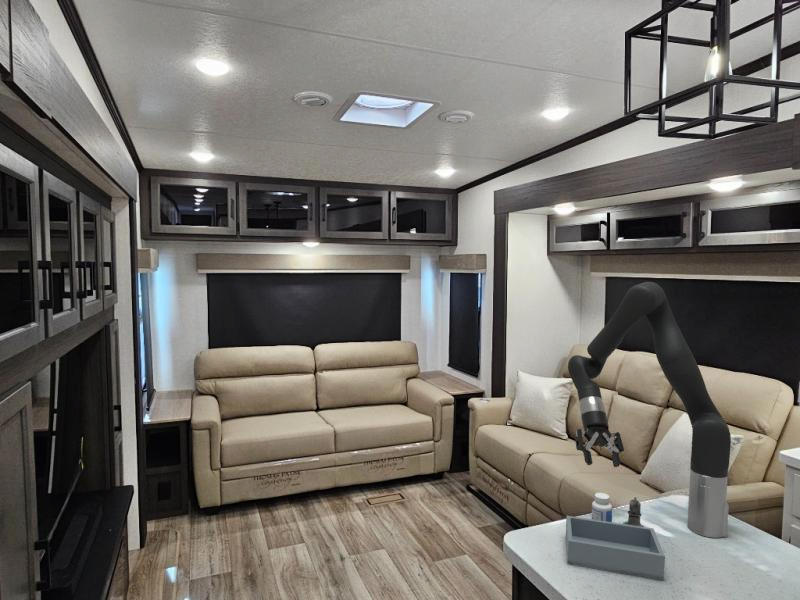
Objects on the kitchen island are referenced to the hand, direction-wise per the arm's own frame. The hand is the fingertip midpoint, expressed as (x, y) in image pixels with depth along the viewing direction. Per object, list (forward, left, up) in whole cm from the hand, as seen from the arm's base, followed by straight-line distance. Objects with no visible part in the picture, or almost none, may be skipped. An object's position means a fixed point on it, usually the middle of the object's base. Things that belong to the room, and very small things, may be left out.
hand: (603, 465), depth 152 cm
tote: (0, +22, -16) cm, 27 cm away
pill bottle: (+1, +7, -16) cm, 18 cm away
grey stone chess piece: (-7, +11, -16) cm, 21 cm away
